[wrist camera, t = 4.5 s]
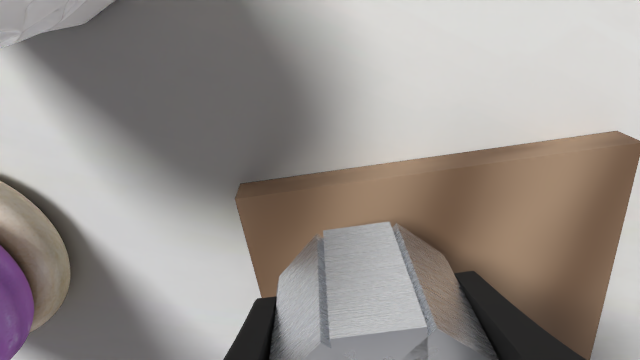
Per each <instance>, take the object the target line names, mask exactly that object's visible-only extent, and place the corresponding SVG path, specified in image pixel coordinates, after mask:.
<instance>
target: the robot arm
mask: <svg viewBox="0 0 640 360" xmlns="http://www.w3.org/2000/svg"><path fill="white" fill-rule="evenodd" d="M454 275H455V277H456V279H457V281H458V283H459V285H460V286H461V288H462V290H463V292H464V294H465V296H466V298H467V300H468V302H469V304H470V305H471V307H472V309H473V311H474V313H475V315H476V317H477V319H478V321H479V322H480V324H481V326H482V328H483V330H484V332H485V334H486V336H487V338H488V340H489V342H490V343H491V345H492V347H493V349H494V351H495V353H496V355H497V357H498V359H499V360H587V359H585V358H583V357H582V356H580V355H579V354H577V353H576V352H574V351H573V350H572V349H570V348H569V347H567V346H566V345H564V344H563V343H562V342H560V341H559V340H558V339H556V338H555V337H554V336H552V335H551V334H549V333H548V332H547V331H546V330H544V329H543V328H542V327H540V326H539V325H538V324H536V323H535V322H534V321H533V320H531V319H530V318H529V317H528V316H526V315H525V314H524V313H523V312H521V311H520V310H519V309H518V308H517V307H515V306H514V305H513V304H512V303H511V302H509V301H508V300H507V299H506V298H505V297H504V296H502V295H501V294H500V293H499V292H498V291H497V290H495V289H494V288H493V287H492V286H491V285H490V284H489V283H487V282H486V281H485V280H484V279H483V278H482V277H481V276H480V275H478V274H477V273H476V272H475V271H467V272H459V273H454ZM276 301H277V296H274V297H267V298H259V299H257V300H256V301H255V302H254V304H253V306H252V308H251V310H250V312H249V314H248V316H247V318H246V320H245V322H244V324H243V326H242V328H241V330H240V332H239V333H238V335H237V337H236V339H235V341H234V342H233V344H232V346H231V348H230V349H229V351H228V353H227V354H226V356H225V358H224V360H269V358H270V349H271V339H272V331H273V326H274V320H275V311H276Z"/></svg>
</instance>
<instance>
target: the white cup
mask: <svg viewBox="0 0 640 360" xmlns="http://www.w3.org/2000/svg"><path fill="white" fill-rule="evenodd" d="M114 1H115V0H0V48H2V47H6V46H10V45H13V44H15V43H18V42H20V41H23V40H25V39H28V38H30V37H32V36H35V35H37V34H39V33H44V32H48V31H53V30H58V29H63V28H68V27H73V26H78V25H82V24H85V23H87V22H88V21H89V20H90V19H92V18H93V17H94V16H96V15H97V14H98V13H99V12H101V11H102V10H103V9H105V8H106V7H107V6H109V5H110V4H111V3H112V2H114Z"/></svg>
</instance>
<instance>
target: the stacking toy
mask: <svg viewBox="0 0 640 360" xmlns="http://www.w3.org/2000/svg"><path fill="white" fill-rule="evenodd" d="M70 276H71V275H70V262H69V258H68V253H67V250H66V248H65V245H64V243H63V241H62V239H61V237H60V235H59V233H58V232H57V230H56V229H55V227H54V226H53V224H52V223H51V222H50V221H49V219H48V218H47V217H46V216H45V215H44V214H43V213H42V211H41V210H40V209H39V208H38V207H36V206H35V205H34V204H33V203H32V202H31V201H30V200H29V199H27V198H26V197H25V196H23V195H22V194H21V193H19V192H18V191H16V190H15V189H13V188H12V187H10V186H8V185H7V184H5V183H4V182H2V181H0V360H10V359H11V358H12V357H13V356H14V355H15V354H16V353H17V351H18V350H19V349H20V348H21V347H22V345H23V344H24V342H25V340H26V338H27V336H28V334H29V333H30V332H32V331H34V330H36V329H37V328H39V327H40V326H42V325H43V324H44V323H46V322H47V321H48V320H49V319H50V318H51V317H52V316H53V315H54V314H55V313H56V312H57V310H58V309H59V308H60V306H61V305H62V303H63V301H64V299H65V297H66V294H67V292H68V288H69V285H70Z"/></svg>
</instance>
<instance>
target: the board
mask: <svg viewBox="0 0 640 360" xmlns="http://www.w3.org/2000/svg"><path fill="white" fill-rule="evenodd" d="M639 157H640V141H639V140H637V139H634V138H632V137H630V136H627V135H625V134H623V133H621V132H618V131H613V132H606V133H599V134H592V135H585V136H578V137H570V138H563V139H556V140H549V141H542V142H535V143H528V144H521V145H513V146H506V147H499V148H492V149H485V150H478V151H471V152H464V153H457V154H449V155H442V156H435V157H428V158H421V159H414V160H407V161H400V162H392V163H385V164H378V165H371V166H364V167H357V168H350V169H343V170H335V171H328V172H321V173H314V174H307V175H300V176H293V177H286V178H279V179H271V180H264V181H257V182H250V183H243V184H240V186H239V189H238V192H237V195H236V197H235V201H236V205H237V209H238V212H239V216H240V220H241V223H242V227H243V231H244V234H245V238H246V242H247V245H248V249H249V253H250V256H251V260H252V264H253V267H254V271H255V275H256V278H257V282H258V286H259V289H260V293H261V297H262V298H267V297H274V296H276V293H277V284H278V282H279V276H280V275H281V274H282V273H283V271H284V270H285V269H286V268H287V267H288V266H289V265H290V263H291V262H292V261H293V260H294V259H295V258H296V257H297V256H298V254H299V253H300V252H301V251H302V250H303V249H304V248H305V246H306V245H307V244H308V243H309V242H310V241H311V240H312V238H313V237H314V236H315V235H316V234H318V235H320V236H321V237H323V230H330V229H337V228H345V227H352V226H360V225H367V224H375V223H382V222H390V224H391V227H393V226H394V225H395V224H396V223H397V224H399V225H400V226H402V227H403V228H405V229H406V230H408V231H409V232H411V233H412V234H414V235H415V236H417V237H418V238H420V239H421V240H423V241H424V242H426V243H427V244H429V245H430V246H432V247H433V248H435V249H436V250H437V251H439V252H440V253H442V254H443V255H444V256H445V258H446V260H447V261H448V263H449V265H450V267H451V269H452V271H453V273H459V272H467V271H475V272H476V273H477V274H478V275H480V276H481V277H482V278H483V279H484V280H485V281H486V282H487V283H489V284H490V285H491V286H492V287H493V288H494V289H495V290H497V291H498V292H499V293H500V294H501V295H502V296H504V297H505V298H506V299H507V300H508V301H509V302H511V303H512V304H513V305H514V306H515V307H517V308H518V309H519V310H520V311H521V312H523V313H524V314H525V315H526V316H528V317H529V318H530V319H531V320H533V321H534V322H535V323H536V324H538V325H539V326H540V327H542V328H543V329H544V330H546V331H547V332H548V333H549V334H551V335H552V336H554V337H555V338H556V339H558V340H559V341H560V342H562V343H563V344H564V345H566V346H567V347H569V348H570V349H572V350H573V351H574V352H576V353H577V354H579V355H580V356H582V357H583V358H585V359H587V360H590V357H591V353H592V349H593V345H594V341H595V337H596V333H597V329H598V324H599V320H600V316H601V312H602V308H603V304H604V300H605V296H606V292H607V288H608V284H609V280H610V275H611V271H612V267H613V263H614V259H615V255H616V251H617V247H618V243H619V239H620V235H621V231H622V226H623V222H624V218H625V214H626V210H627V206H628V202H629V198H630V194H631V190H632V186H633V182H634V177H635V173H636V169H637V165H638V161H639Z"/></svg>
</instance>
